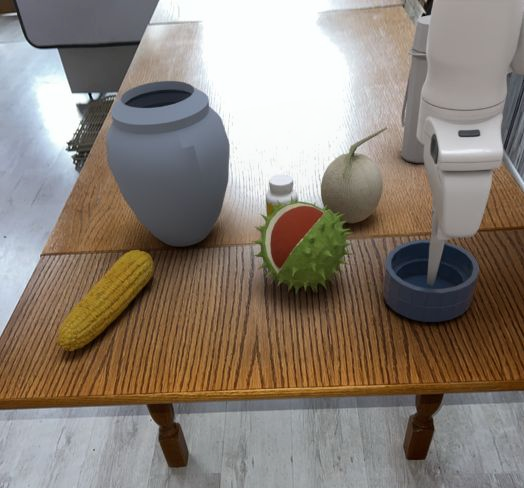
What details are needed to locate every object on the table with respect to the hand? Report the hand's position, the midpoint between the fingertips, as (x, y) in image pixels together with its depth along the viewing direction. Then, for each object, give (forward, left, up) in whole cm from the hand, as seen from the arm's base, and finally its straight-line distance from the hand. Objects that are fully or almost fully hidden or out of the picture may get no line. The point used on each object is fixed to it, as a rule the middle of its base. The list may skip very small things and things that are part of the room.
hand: (440, 228), depth 71 cm
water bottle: (-30, -38, -13) cm, 50 cm away
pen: (0, 0, -9) cm, 9 cm away
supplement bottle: (+7, -29, -13) cm, 33 cm away
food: (+40, -25, -13) cm, 49 cm away
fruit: (-4, -26, -13) cm, 29 cm away
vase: (+22, -38, -13) cm, 46 cm away
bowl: (-1, -1, -13) cm, 13 cm away
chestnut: (+12, -14, -13) cm, 23 cm away
